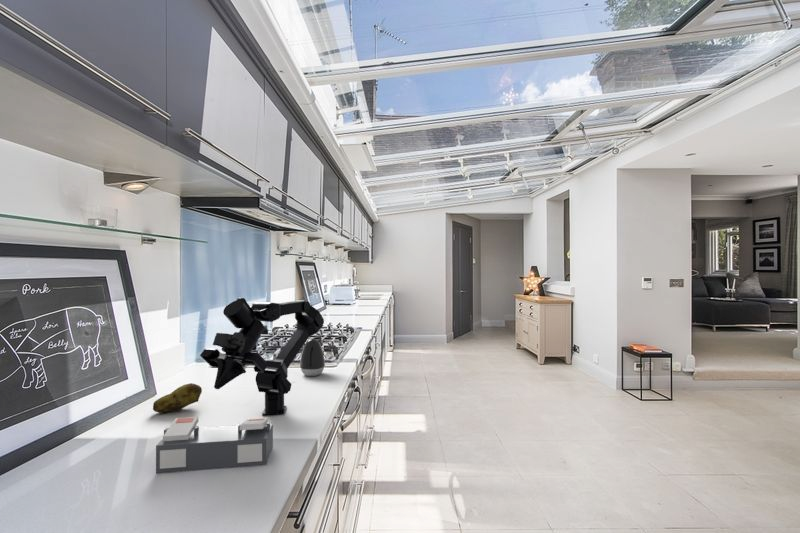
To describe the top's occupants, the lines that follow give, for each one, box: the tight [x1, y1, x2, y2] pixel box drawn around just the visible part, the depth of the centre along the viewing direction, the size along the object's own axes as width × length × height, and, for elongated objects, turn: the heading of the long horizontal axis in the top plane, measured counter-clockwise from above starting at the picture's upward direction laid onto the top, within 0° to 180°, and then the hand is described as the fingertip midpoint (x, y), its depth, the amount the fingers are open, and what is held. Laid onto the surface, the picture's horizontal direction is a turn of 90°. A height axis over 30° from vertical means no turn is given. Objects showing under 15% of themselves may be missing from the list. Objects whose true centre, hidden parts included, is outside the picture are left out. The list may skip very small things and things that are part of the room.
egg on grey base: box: [299, 338, 326, 377], centre depth 165 cm, size 10×10×15 cm
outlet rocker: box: [162, 416, 199, 441], centre depth 90 cm, size 7×5×1 cm
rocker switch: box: [239, 417, 269, 430], centre depth 93 cm, size 7×5×1 cm
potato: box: [152, 383, 203, 414], centre depth 124 cm, size 8×13×8 cm, turn 99°
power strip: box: [155, 421, 274, 474], centre depth 91 cm, size 9×23×8 cm, turn 99°
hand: (216, 388), depth 101 cm, fingers closed
